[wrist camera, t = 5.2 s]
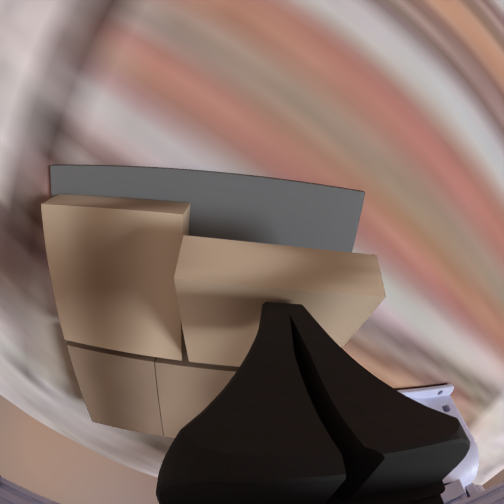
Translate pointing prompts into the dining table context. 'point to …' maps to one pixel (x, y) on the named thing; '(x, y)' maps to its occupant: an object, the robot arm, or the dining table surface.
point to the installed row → (145, 388)
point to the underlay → (230, 202)
